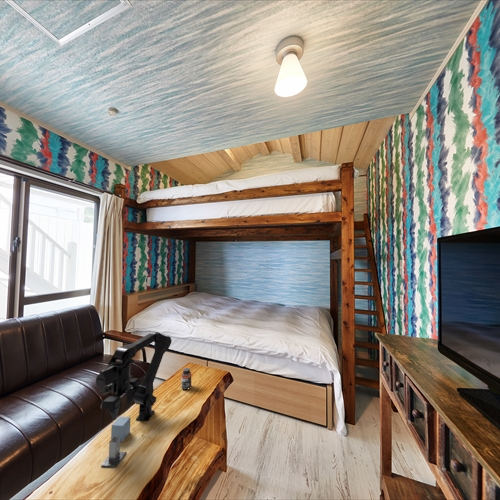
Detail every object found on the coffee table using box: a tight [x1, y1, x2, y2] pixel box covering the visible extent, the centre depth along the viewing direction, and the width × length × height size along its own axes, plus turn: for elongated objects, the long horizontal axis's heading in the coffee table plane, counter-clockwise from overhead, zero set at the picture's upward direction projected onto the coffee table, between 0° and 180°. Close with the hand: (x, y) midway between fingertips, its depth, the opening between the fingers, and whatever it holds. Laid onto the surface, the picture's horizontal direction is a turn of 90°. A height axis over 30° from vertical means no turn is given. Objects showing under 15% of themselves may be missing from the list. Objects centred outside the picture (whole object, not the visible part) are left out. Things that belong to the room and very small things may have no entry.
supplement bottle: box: [181, 367, 192, 390], centre depth 131 cm, size 6×6×11 cm
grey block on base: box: [110, 416, 131, 443], centre depth 94 cm, size 5×5×7 cm
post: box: [100, 437, 127, 469], centre depth 83 cm, size 6×6×8 cm
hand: (121, 411), depth 95 cm, fingers open, 9 cm apart
